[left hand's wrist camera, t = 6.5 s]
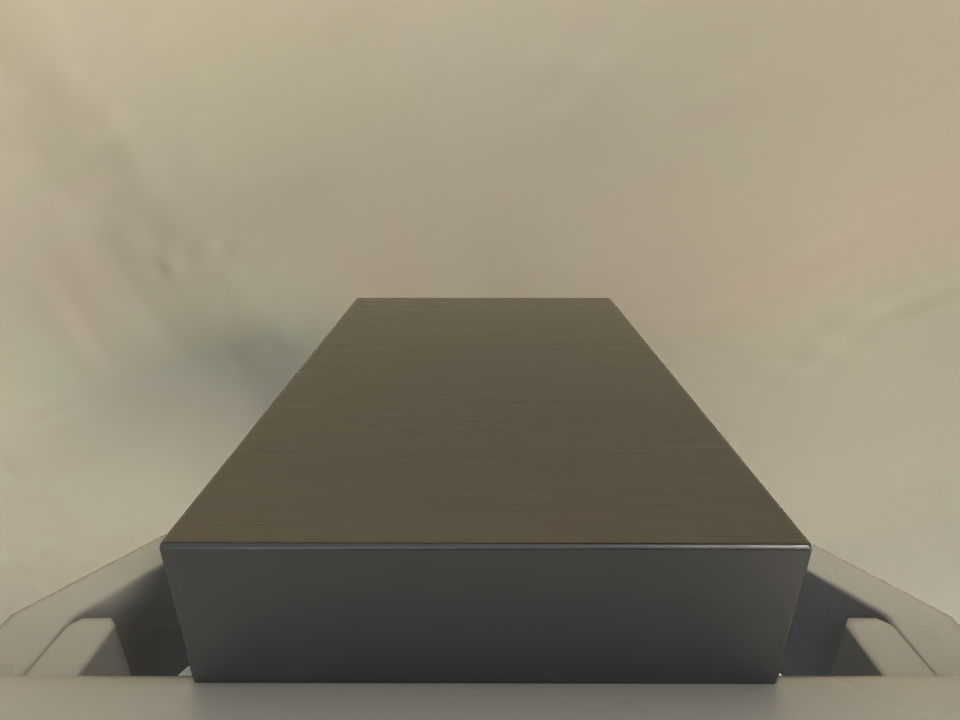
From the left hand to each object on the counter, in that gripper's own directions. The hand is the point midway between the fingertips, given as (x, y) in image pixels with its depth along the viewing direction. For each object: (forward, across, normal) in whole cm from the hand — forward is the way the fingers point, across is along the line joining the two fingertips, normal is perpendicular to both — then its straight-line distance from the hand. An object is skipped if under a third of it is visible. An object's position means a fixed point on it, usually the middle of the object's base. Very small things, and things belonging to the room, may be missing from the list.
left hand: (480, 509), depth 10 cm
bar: (+3, 0, -8) cm, 8 cm away
